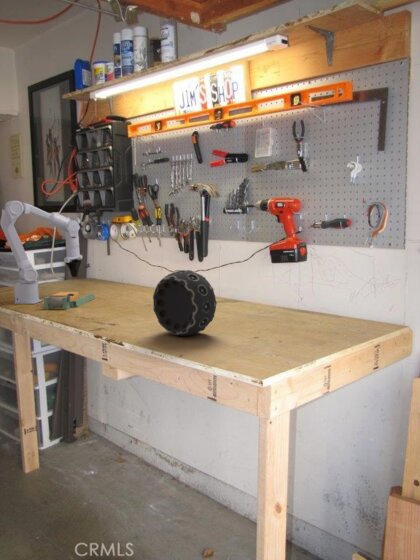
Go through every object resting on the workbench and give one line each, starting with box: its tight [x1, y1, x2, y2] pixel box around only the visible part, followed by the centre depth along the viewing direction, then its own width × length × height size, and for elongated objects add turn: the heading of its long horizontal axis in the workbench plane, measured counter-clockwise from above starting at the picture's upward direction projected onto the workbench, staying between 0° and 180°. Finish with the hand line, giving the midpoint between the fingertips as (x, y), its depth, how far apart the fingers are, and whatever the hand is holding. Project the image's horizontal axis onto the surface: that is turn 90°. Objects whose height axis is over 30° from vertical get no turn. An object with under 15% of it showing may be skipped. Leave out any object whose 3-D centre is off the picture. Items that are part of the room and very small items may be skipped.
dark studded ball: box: [152, 269, 218, 337], centre depth 157 cm, size 11×20×20 cm, turn 51°
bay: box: [43, 292, 95, 311], centre depth 215 cm, size 14×24×6 cm, turn 171°
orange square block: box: [51, 291, 80, 301], centre depth 214 cm, size 8×8×5 cm
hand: (74, 276), depth 230 cm, fingers closed
